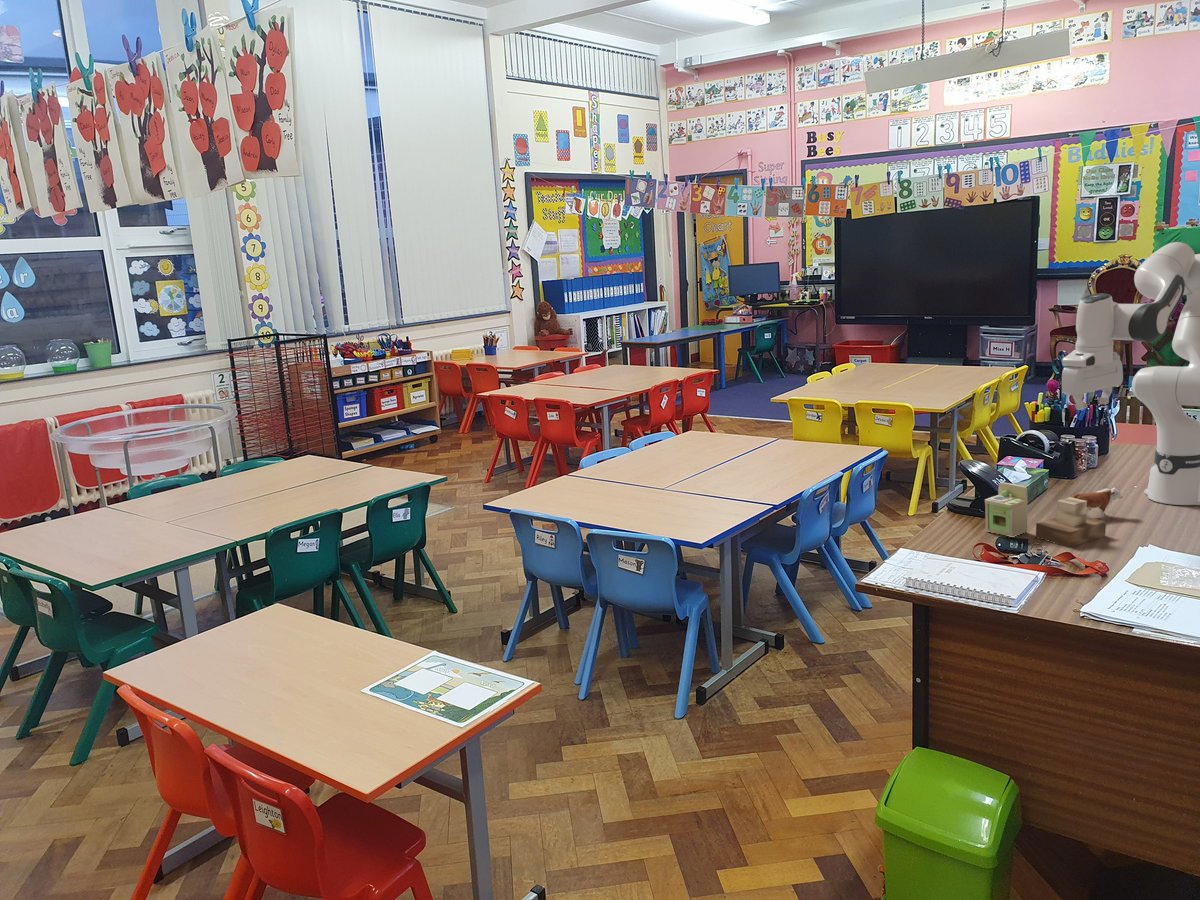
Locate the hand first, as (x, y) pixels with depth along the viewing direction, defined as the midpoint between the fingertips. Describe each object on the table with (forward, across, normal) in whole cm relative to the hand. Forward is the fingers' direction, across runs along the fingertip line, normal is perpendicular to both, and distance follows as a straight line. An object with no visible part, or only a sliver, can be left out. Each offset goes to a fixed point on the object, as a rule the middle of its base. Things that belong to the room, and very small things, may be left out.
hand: (1092, 406), depth 241 cm
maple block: (+28, +14, +5) cm, 32 cm away
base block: (+32, +14, +5) cm, 36 cm away
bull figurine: (+33, -6, -2) cm, 34 cm away
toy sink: (+33, +23, -8) cm, 41 cm away
